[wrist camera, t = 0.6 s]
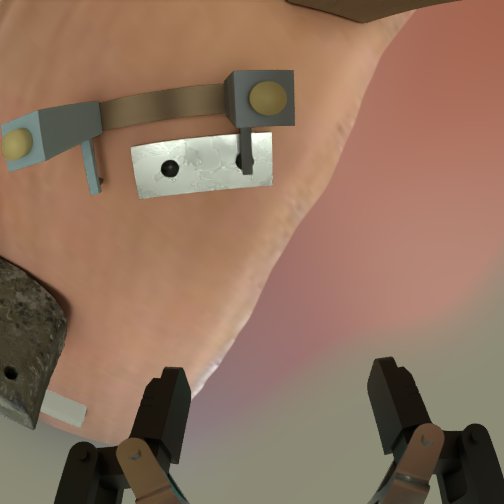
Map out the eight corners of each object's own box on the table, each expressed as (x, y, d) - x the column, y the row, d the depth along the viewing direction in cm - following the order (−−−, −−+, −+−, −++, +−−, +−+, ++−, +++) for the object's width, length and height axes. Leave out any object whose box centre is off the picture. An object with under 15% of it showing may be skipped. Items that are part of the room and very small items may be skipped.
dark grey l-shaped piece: (83, 188, 30) (14, 256, 17) (69, 109, 25) (-19, 133, 12) (270, 164, 32) (317, 222, 19) (268, 80, 28) (320, 70, 14)
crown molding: (-22, 370, 45) (-26, 380, 42) (-27, 343, 41) (-33, 354, 38) (81, 422, 56) (79, 433, 53) (88, 403, 52) (85, 416, 49)
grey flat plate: (140, 196, 32) (138, 199, 31) (132, 146, 29) (130, 147, 28) (271, 183, 33) (272, 185, 33) (270, 131, 30) (271, 132, 30)
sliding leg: (88, 190, 29) (24, 256, 17) (74, 107, 24) (-9, 128, 12) (115, 185, 30) (60, 251, 17) (103, 100, 25) (28, 112, 12)
